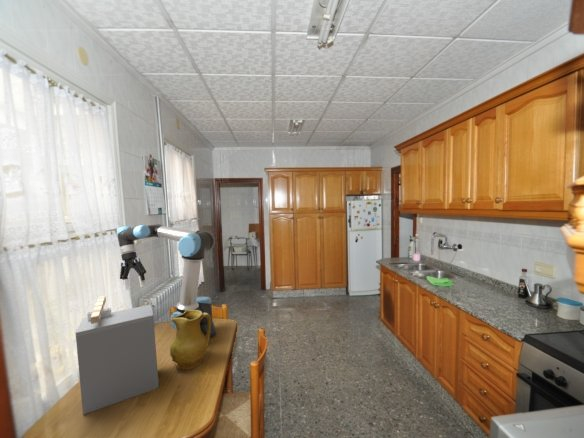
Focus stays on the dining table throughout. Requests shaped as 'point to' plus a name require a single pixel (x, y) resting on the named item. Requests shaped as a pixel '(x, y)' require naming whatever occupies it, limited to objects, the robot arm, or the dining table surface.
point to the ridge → (104, 314)
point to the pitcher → (190, 339)
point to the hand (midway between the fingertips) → (135, 288)
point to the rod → (98, 310)
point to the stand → (116, 357)
